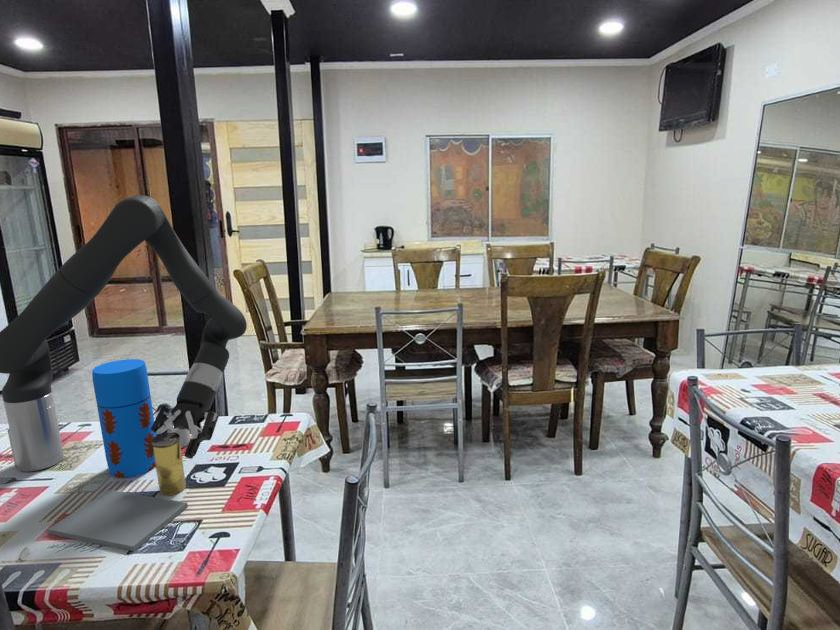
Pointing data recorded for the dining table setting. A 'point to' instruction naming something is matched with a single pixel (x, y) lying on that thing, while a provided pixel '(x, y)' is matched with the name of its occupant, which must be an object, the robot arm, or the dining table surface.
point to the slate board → (119, 519)
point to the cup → (181, 434)
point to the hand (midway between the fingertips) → (171, 455)
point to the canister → (169, 463)
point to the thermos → (125, 416)
